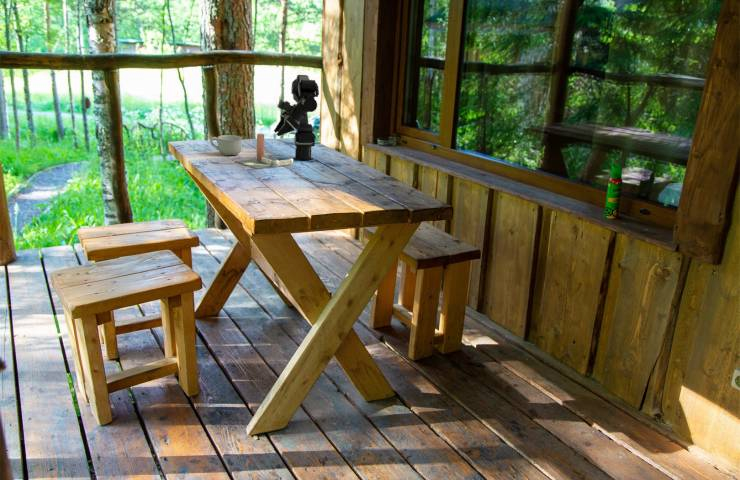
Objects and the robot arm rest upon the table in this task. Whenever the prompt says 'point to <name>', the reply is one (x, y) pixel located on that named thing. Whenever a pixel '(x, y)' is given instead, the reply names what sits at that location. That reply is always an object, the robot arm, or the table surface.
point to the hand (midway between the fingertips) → (275, 133)
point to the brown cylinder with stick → (262, 150)
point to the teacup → (228, 144)
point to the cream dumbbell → (283, 162)
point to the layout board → (259, 163)
